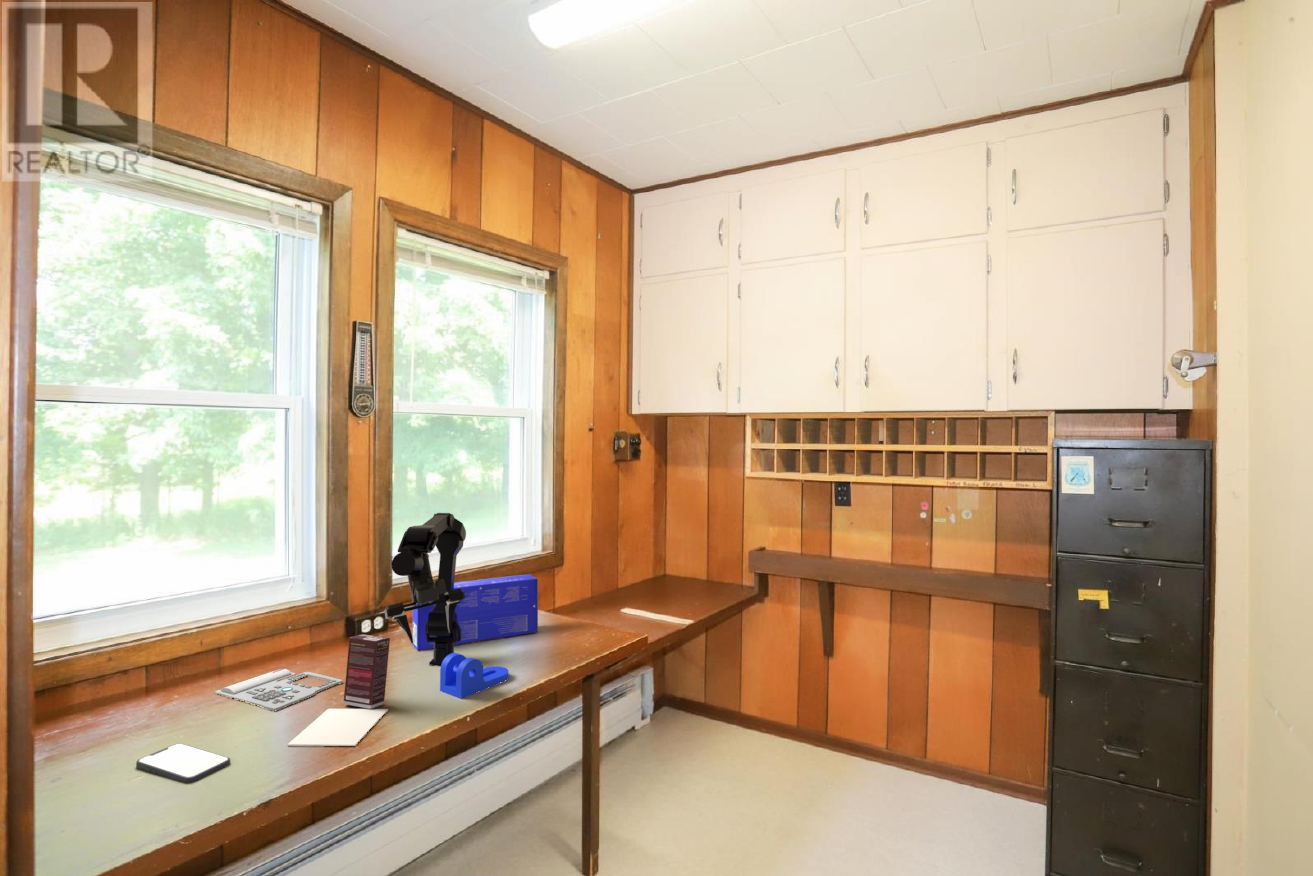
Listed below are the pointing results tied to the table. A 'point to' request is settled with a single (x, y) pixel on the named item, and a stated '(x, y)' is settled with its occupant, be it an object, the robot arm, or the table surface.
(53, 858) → the table surface
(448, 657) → the bracket
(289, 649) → the table surface
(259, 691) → the office telephone
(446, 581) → the robot arm
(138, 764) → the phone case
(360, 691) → the supplement box
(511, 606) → the toner cartridge box
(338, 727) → the mat
